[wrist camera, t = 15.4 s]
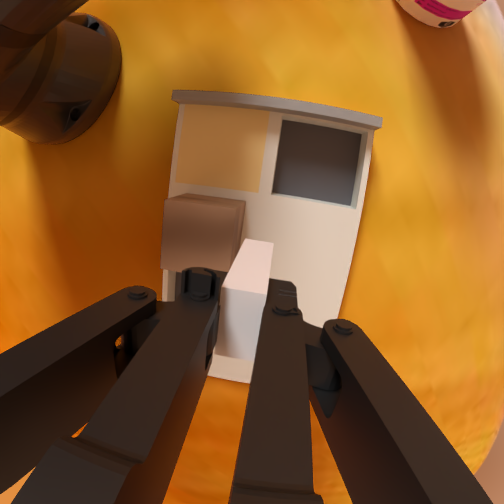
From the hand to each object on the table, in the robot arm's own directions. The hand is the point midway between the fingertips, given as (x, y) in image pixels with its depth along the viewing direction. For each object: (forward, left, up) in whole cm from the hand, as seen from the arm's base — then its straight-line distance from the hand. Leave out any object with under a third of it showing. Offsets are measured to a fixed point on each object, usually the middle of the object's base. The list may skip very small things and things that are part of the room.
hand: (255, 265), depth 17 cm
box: (-1, -3, -12) cm, 12 cm away
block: (-4, 0, -9) cm, 10 cm away
